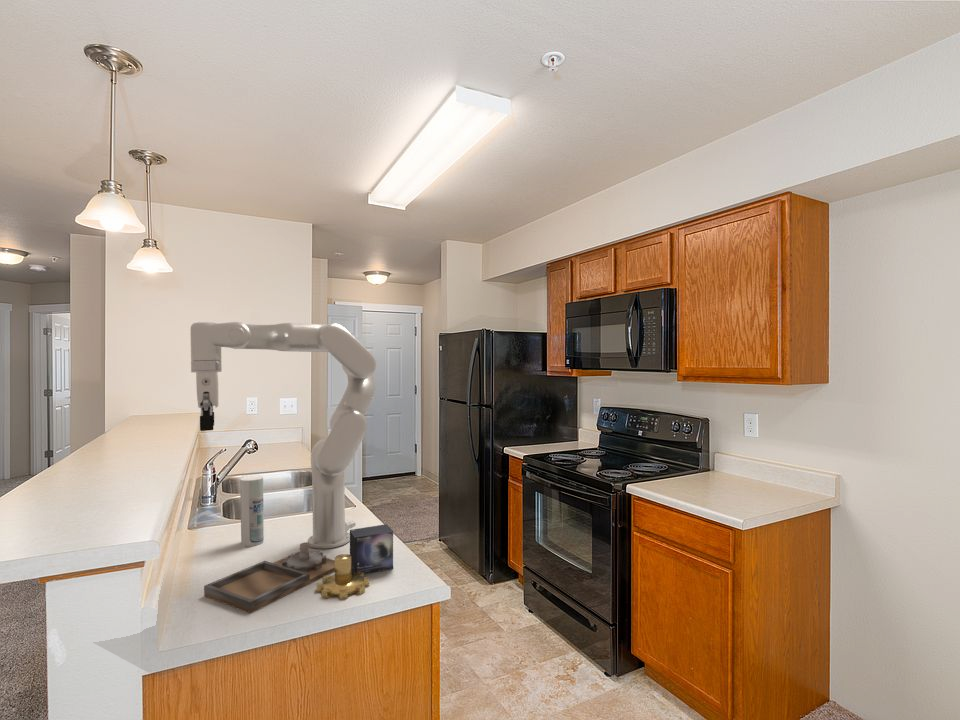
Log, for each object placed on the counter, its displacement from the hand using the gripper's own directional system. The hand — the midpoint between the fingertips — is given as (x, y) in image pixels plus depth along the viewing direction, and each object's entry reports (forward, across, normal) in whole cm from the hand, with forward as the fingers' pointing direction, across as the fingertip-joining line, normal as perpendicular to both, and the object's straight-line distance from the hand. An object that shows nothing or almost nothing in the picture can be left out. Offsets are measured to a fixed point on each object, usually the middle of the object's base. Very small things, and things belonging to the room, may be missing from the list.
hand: (207, 428), depth 145 cm
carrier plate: (+37, -22, -16) cm, 46 cm away
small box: (+38, -26, -39) cm, 60 cm away
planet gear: (+37, -34, -30) cm, 59 cm away
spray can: (+38, +10, -12) cm, 40 cm away
